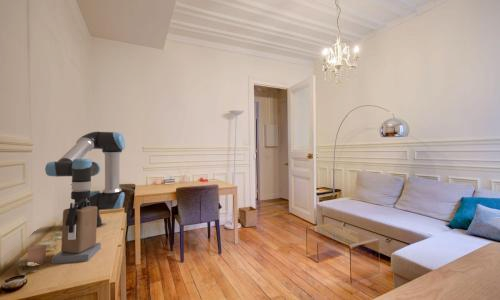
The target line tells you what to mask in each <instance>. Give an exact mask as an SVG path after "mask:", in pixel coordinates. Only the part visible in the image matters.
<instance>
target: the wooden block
mask: <svg viewBox="0 0 500 300" xmlns="http://www.w3.org/2000/svg"><path fill="white" fill-rule="evenodd" d="M69 209H70V207H69V208H65V209H64V210H63V211H62V223H61V224H62V226H61V250H60V251H62V252H67V253H81V252H83V251H85V250H88V249H90V248H92V247H94V246H95V245H96V243H97V231H98V230H97V227H98V226H97V207H96V206H87V207H83V208H82V209H81V210H77V211H76V215H77V220H76V223H75V225H76V239H74V240H68V226H66V225H65V224H66V220H67V217H68V213H69Z"/></svg>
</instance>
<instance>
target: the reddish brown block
mask: <svg viewBox="0 0 500 300" xmlns="http://www.w3.org/2000/svg"><path fill="white" fill-rule="evenodd" d="M46 256H47V245H46V244H39V245H32V246H31V247H28V248H27V260H26V263H27V262H34V263H37V264H39V265H38V266H40V265H43V264H45V263H46V261H47V259H46V258H47V257H46Z"/></svg>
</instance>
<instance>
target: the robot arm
mask: <svg viewBox="0 0 500 300" xmlns="http://www.w3.org/2000/svg"><path fill="white" fill-rule="evenodd" d="M125 148H126V141H125V137H124V135H123V133H120V132H115V131H92V132H89V133H86V134H84V135H82V136H80V138H78V139H77V140H76V143H75V145H74V146H72V147H71V148H70V149H69V150H68V151H67V152H66V153H65V154H64V155H63V156H62V157H61V158H60V159H58V160H57V161H55V160H54V161H49V162H48V163H46V165H45V169H44V171H45V174H46V175H47V177H58V178H59V177H71V184H70V185H71V193H70V199H72V200H74V201H73V202H70V203H69V208H70V209H69V208H68V209H69V213H68V217H67V220H66V224H65V225H66V226H68V240H74V239H76V225H75V223H76V220H77V215H76V211H77V210H81V209H82V208H83V207H87V206H96V207H97V227H100V226H101V225H103V224H102V223H103V221H102V217H101V215H100V211H102V210H103V211H104V210H112V211H113V210H114V211H115V210H118V209H121V208H122V206H123V205H124V201H125V196H126V195H125V192H123V191H122V190H123V189H122V188H121V187H120V154H122V152H123V150H124V149H125ZM95 149H97V150H101V152H102V153H103V154H104V189H103V190H102V192H101V191H100V190H91V188H92V177H94V176H97V175H99V173H100V172H101V170H102V169H101V165H100V164H99V163H98V162H96V161H92V159H91V158H84V157H85V156H86V154H87V153H88V152H92V150H95Z"/></svg>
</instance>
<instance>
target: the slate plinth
mask: <svg viewBox="0 0 500 300" xmlns="http://www.w3.org/2000/svg"><path fill="white" fill-rule="evenodd" d="M101 246H102V244H101V242H96V245H95V246H94V247H92V248H90V249H88V250H85V251H83V252H81V253H67V252H62V251H61V250H60V251H59V252H58V253H56V254H55V255H53V256H52V258H51V259H52V261H51V262H52V265H53V264H54V265H55V264H68V263H79V262H88V261H90V260H91V259H92V258H93V257H94V256H95V255H96V254H97V253H98V252H99V251H100V250H101V249H102V248H101Z"/></svg>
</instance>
